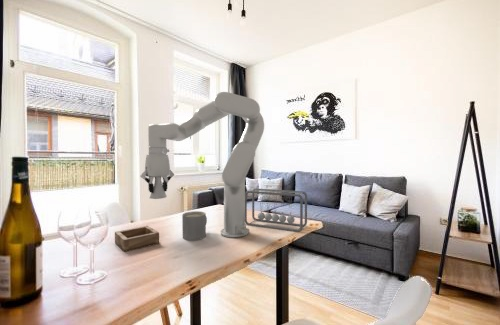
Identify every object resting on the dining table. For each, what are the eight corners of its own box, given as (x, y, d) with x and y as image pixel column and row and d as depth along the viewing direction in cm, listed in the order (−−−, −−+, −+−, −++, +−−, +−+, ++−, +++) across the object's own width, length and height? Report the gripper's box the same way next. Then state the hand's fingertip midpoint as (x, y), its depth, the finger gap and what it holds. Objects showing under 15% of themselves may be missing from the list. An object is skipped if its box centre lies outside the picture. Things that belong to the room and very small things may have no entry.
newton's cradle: (307, 226, 121) (307, 191, 120) (302, 232, 111) (302, 194, 111) (252, 220, 134) (252, 188, 133) (244, 224, 124) (244, 190, 124)
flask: (169, 196, 113) (169, 175, 113) (162, 199, 106) (161, 176, 106) (154, 196, 114) (154, 175, 114) (146, 199, 107) (146, 176, 106)
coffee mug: (192, 242, 100) (192, 217, 99) (177, 237, 105) (177, 214, 105) (215, 233, 110) (215, 211, 110) (201, 229, 116) (200, 209, 116)
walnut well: (159, 243, 98) (159, 232, 98) (124, 252, 89) (124, 240, 89) (147, 235, 107) (147, 225, 107) (114, 242, 99) (114, 231, 98)
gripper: (172, 151, 118) (172, 189, 118) (134, 151, 106) (135, 192, 107) (179, 151, 112) (179, 190, 113) (140, 151, 101) (141, 194, 101)
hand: (158, 191), depth 110 cm, fingers closed on flask, 5 cm apart
